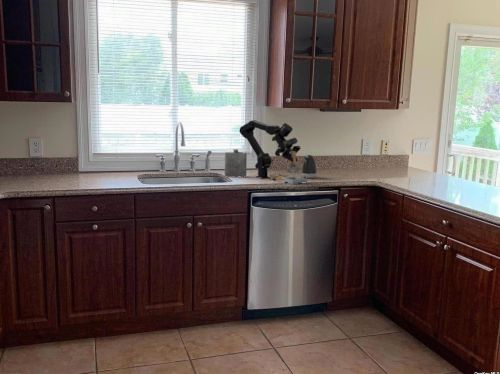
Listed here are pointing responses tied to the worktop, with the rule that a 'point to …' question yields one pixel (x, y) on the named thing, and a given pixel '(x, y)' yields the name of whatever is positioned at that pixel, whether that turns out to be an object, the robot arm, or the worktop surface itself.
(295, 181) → the tray
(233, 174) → the flask
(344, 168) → the worktop surface
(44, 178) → the worktop surface
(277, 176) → the slot board
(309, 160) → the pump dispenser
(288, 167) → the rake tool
